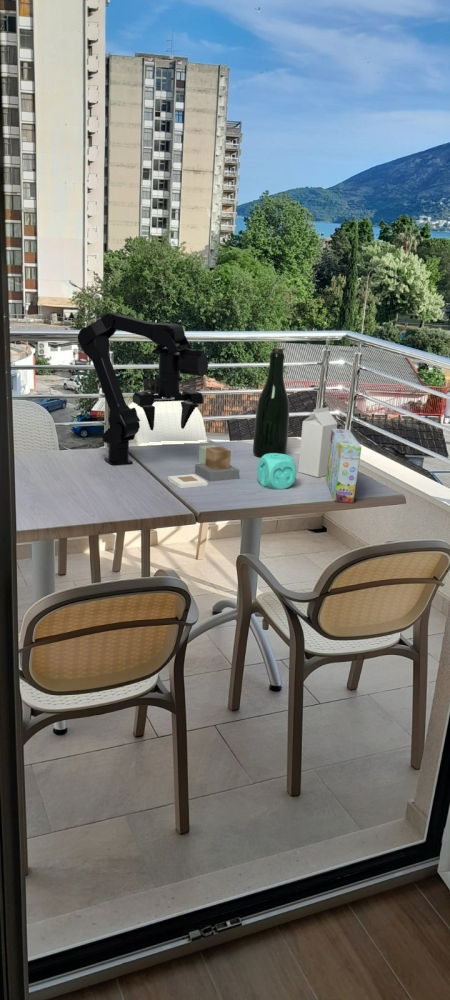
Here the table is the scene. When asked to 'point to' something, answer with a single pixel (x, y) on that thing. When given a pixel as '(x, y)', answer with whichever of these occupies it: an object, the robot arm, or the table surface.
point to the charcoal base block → (216, 473)
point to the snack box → (343, 465)
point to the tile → (187, 481)
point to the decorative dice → (276, 471)
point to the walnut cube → (218, 458)
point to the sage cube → (203, 453)
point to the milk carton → (316, 442)
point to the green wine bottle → (272, 411)
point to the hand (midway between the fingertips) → (167, 429)
